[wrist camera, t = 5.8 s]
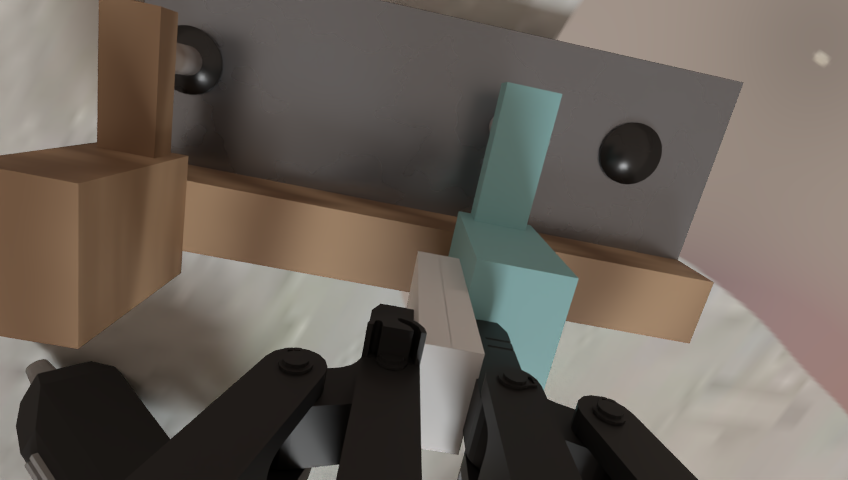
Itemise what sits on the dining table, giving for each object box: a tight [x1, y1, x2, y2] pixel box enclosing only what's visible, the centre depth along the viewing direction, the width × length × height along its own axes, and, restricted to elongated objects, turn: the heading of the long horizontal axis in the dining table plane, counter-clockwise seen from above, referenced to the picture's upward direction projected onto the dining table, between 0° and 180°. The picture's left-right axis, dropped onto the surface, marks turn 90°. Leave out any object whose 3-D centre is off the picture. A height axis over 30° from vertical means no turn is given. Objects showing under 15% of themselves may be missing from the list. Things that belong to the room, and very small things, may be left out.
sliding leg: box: [448, 82, 579, 390], centre depth 18 cm, size 3×10×9 cm, turn 169°
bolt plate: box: [145, 0, 743, 260], centre depth 22 cm, size 26×12×1 cm, turn 78°
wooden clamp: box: [0, 0, 714, 349], centre depth 18 cm, size 26×10×9 cm, turn 78°
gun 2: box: [16, 359, 170, 480], centre depth 25 cm, size 3×16×10 cm, turn 53°
